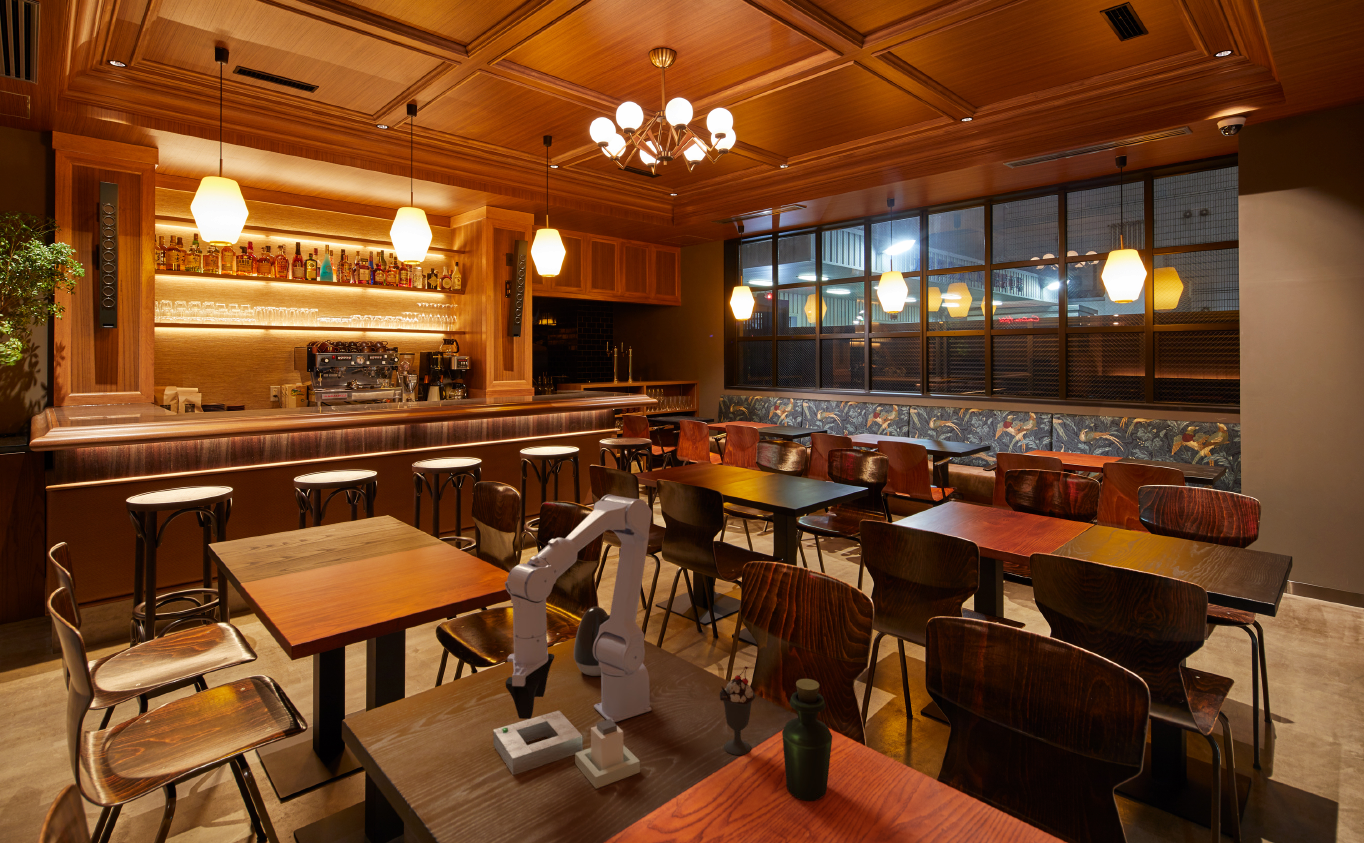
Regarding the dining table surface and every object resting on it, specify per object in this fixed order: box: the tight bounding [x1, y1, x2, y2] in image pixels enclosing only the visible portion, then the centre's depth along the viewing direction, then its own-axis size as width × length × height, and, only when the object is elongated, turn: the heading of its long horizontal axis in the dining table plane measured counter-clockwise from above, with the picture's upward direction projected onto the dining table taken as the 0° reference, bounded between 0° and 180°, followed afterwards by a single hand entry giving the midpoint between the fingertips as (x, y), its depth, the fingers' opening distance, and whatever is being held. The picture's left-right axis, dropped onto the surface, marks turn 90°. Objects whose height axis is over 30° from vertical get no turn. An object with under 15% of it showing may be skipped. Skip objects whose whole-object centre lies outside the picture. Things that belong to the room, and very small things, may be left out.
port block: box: [492, 710, 584, 776], centre depth 121 cm, size 13×11×3 cm
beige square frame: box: [574, 744, 641, 790], centre depth 115 cm, size 8×8×2 cm
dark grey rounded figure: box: [573, 606, 610, 677], centre depth 152 cm, size 10×10×15 cm
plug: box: [590, 719, 624, 771], centre depth 115 cm, size 4×4×8 cm
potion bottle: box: [782, 678, 833, 802], centre depth 108 cm, size 8×8×18 cm
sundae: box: [719, 665, 757, 756], centre depth 121 cm, size 7×7×15 cm
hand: (531, 706), depth 117 cm, fingers open, 7 cm apart
